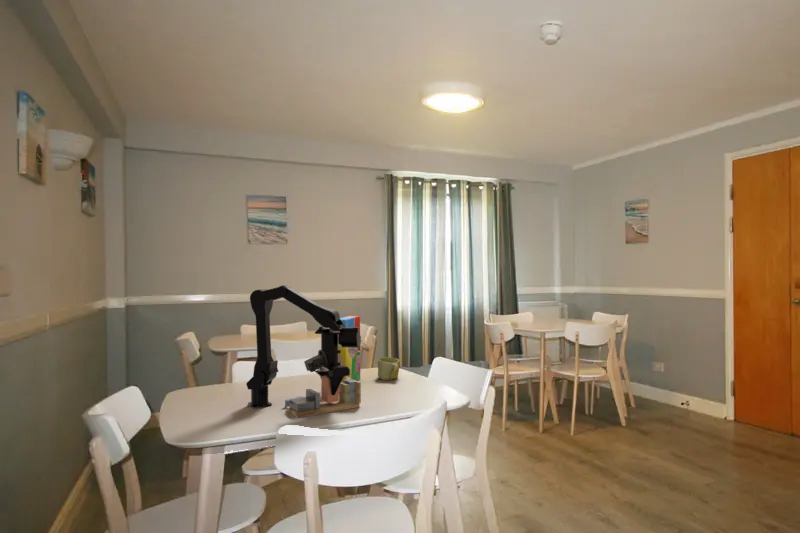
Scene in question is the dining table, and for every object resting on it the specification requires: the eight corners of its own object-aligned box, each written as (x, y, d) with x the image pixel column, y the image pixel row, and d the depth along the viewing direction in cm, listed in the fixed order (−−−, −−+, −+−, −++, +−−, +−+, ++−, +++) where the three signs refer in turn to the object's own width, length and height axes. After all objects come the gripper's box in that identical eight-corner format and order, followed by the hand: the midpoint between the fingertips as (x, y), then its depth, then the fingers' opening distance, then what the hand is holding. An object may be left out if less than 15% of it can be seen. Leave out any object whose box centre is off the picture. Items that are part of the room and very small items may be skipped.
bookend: (288, 406, 166) (288, 391, 166) (310, 403, 170) (310, 388, 170) (298, 412, 159) (298, 396, 160) (320, 408, 164) (319, 393, 164)
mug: (370, 371, 221) (378, 351, 220) (392, 377, 224) (400, 357, 223) (376, 383, 210) (384, 361, 209) (398, 388, 213) (406, 367, 212)
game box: (345, 390, 195) (345, 319, 196) (332, 389, 196) (331, 319, 197) (360, 379, 216) (360, 315, 216) (348, 378, 217) (348, 315, 217)
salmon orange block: (321, 399, 171) (321, 376, 171) (332, 398, 173) (332, 374, 173) (327, 402, 167) (327, 378, 167) (338, 401, 169) (338, 377, 169)
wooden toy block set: (286, 410, 167) (286, 385, 167) (347, 400, 179) (346, 377, 179) (297, 417, 158) (297, 391, 158) (360, 406, 171) (360, 382, 171)
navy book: (285, 406, 171) (285, 400, 171) (300, 402, 177) (300, 396, 177) (295, 409, 168) (295, 402, 168) (310, 404, 174) (310, 398, 174)
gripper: (296, 345, 174) (296, 391, 173) (319, 352, 158) (319, 402, 158) (326, 343, 180) (326, 387, 180) (350, 349, 164) (350, 397, 164)
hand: (329, 393), depth 170 cm, fingers closed on salmon orange block, 5 cm apart
